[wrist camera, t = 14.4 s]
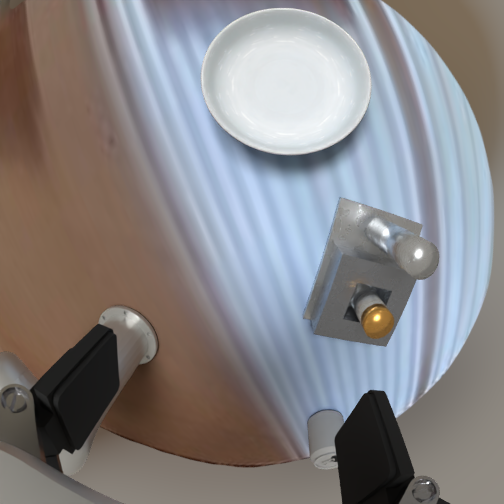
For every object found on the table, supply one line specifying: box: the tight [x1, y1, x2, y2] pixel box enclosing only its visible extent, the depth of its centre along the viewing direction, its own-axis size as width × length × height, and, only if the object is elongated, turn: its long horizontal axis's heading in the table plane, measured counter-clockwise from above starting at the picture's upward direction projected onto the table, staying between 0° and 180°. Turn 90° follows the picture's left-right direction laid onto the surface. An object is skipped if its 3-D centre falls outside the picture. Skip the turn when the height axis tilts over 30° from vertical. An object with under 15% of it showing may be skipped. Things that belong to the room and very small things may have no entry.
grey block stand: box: [303, 197, 439, 346], centre depth 33 cm, size 19×14×15 cm
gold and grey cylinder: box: [350, 283, 394, 339], centre depth 36 cm, size 4×4×10 cm
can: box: [308, 410, 344, 469], centre depth 44 cm, size 8×8×12 cm
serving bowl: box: [201, 8, 371, 155], centre depth 31 cm, size 21×21×7 cm
